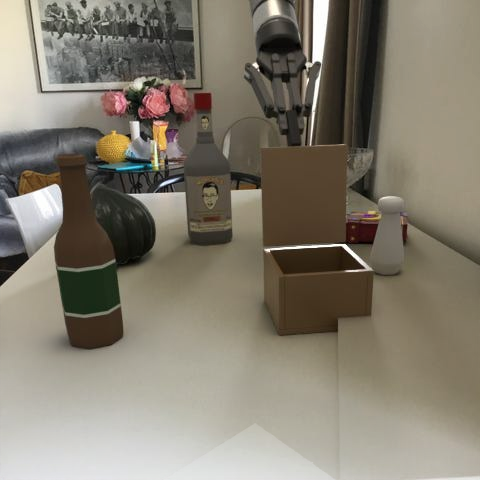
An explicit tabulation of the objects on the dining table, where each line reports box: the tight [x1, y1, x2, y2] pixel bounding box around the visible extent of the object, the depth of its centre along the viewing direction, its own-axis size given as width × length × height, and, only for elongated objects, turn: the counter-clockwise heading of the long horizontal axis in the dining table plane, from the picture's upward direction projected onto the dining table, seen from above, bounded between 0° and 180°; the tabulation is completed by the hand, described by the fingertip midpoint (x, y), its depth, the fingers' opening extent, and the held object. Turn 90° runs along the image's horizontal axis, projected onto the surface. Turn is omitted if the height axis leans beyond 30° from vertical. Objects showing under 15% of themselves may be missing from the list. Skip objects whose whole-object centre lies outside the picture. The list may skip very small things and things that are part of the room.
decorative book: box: [346, 210, 409, 244], centre depth 121 cm, size 11×16×5 cm
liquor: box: [183, 92, 234, 246], centre depth 119 cm, size 9×9×30 cm
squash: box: [90, 186, 157, 265], centre depth 110 cm, size 14×15×15 cm
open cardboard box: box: [262, 243, 375, 336], centre depth 81 cm, size 14×13×8 cm
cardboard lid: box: [259, 143, 348, 248], centre depth 83 cm, size 14×13×1 cm
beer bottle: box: [53, 153, 125, 350], centre depth 72 cm, size 8×8×24 cm
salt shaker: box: [369, 195, 405, 276], centre depth 97 cm, size 6×6×13 cm
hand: (295, 149), depth 87 cm, fingers closed
